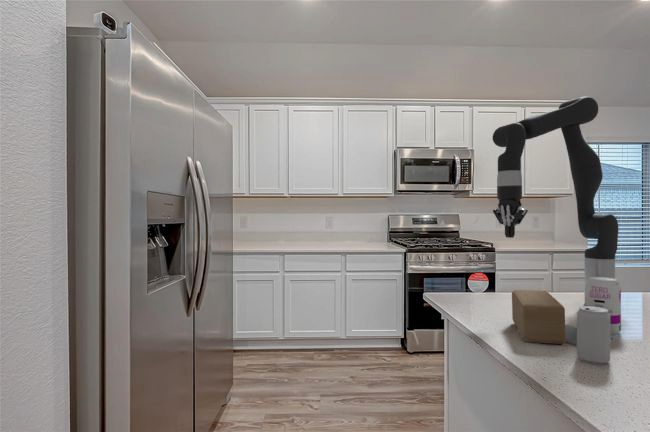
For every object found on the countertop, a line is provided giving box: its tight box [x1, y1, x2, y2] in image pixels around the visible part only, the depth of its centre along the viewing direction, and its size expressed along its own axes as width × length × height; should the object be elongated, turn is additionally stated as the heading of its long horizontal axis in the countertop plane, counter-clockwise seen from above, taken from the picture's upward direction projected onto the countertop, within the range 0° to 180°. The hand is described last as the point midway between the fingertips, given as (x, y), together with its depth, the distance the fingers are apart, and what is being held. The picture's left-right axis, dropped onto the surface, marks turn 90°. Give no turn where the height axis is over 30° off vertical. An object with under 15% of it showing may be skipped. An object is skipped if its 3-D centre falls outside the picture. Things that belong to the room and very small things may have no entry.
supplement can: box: [585, 277, 622, 336], centre depth 116 cm, size 8×8×15 cm
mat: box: [565, 324, 614, 346], centre depth 114 cm, size 14×18×1 cm
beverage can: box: [576, 305, 611, 365], centre depth 93 cm, size 6×6×12 cm
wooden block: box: [511, 289, 566, 345], centre depth 114 cm, size 10×10×20 cm
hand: (509, 237), depth 135 cm, fingers closed
